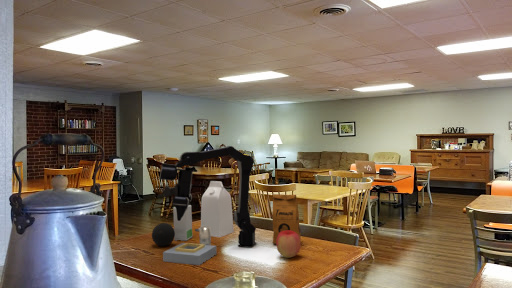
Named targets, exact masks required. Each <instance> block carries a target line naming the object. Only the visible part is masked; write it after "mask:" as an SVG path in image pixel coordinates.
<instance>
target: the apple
mask: <svg viewBox="0 0 512 288" xmlns="http://www.w3.org/2000/svg"><path fill="white" fill-rule="evenodd" d="M275 245H276V248H277V251H278V253H279V255H280V256H282V257H284V258H287V259H289V258H293V257H295V256H297V255H298V253H299V252H300V250H301V248H302V247H301V245H302V241H300V237H299V235H298V234H297V233H296V232H294V231H290V230H286V231H281V232H280V233H279V234H278V237H277V240H276V244H275Z"/></svg>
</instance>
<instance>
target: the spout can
mask: <svg viewBox="0 0 512 288" xmlns="http://www.w3.org/2000/svg"><path fill="white" fill-rule="evenodd" d="M194 231H195V232H196V233H199V234H198V235H199V244H205V245H212V236H211V229H210V226H202V227H201V226H199V228H195V229H194Z"/></svg>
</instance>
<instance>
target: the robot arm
mask: <svg viewBox="0 0 512 288" xmlns="http://www.w3.org/2000/svg"><path fill="white" fill-rule="evenodd" d="M225 156H226V157H227V156H229V157H230V158H232V159H233V160H234V161H235V162H237V169H238V172H239V184H238V185H239V186H238V187H239V188H238V206H237V210H233V222H234V224H235V225H236V226H237V227H238V228H239V231H238V233H239V234H238V245H237V246H238V247H243V248H252V247H254V246H256V245H257V244H258V243H257V241H256V227H255V226H254V225H253V224H252V222H251V215H250V211H249V196H250V195H249V192H250V176H251V174H252V171H253V167H254V158H253V157H252V155H251V156H250V155H248V154H244V153H243V152H241V151H239V150H238V149H236V148H235V147H234V146H232V145H227V146H225V147H224V146H223V147H219V148H214V149H208V150H203V151H185V152H182V153H181V155H180V157H179V159H178V161H177V162H175V164H172V163H171V164H169V163H166V162H163V163H161V169H160V173H159V180H160V181H161V180H162V181H163V180H164V181H174V180H175V179H177V182H176V184H175V186H173V187H170V186H167V187H164V189H162V190H161V191H162V195H163V198H168V197H170V196H174V197H173V198H172V201H171V204H172V205H173V206H174V207H176V211H177V220H178V221H180V220H181V218H182V217H183V215H184V213H185V211H186V209H187V208H188V206H189V205H191V201H192V199H193V195H192V193H191V189H192V185H193V184H192V180H193V174H194V173H197V172H198V170H197V168H196V166H195V164H198V163H200V162H202V161H205V160H211V159H216V158H221V157H225ZM192 165H193V166H192ZM190 166H191V167H190ZM183 167H184V168H183Z"/></svg>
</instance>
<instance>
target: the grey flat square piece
mask: <svg viewBox="0 0 512 288" xmlns="http://www.w3.org/2000/svg"><path fill="white" fill-rule="evenodd" d="M217 254H218V253H217V245H212V244H211V245H205V244H200V243H193V242H191V243H190V242H181V243H179V244H177V245H175V246H173V247H170V248H169V249H166V250H165V251H162V261H163V262H166V263H167V262H168V263H175V264H184V265H185V264H186V265H194V266H200V265H202V264H204V263H205V262H206V260H207V261H208V260H210V259H212V258H214V257H215V256H217ZM214 255H215V256H214ZM211 257H212V258H211ZM203 262H204V263H203Z"/></svg>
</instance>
